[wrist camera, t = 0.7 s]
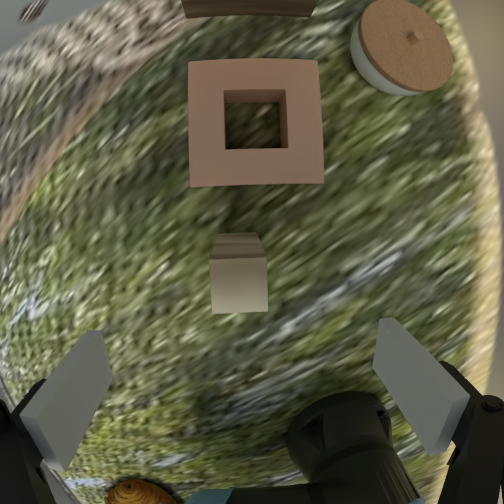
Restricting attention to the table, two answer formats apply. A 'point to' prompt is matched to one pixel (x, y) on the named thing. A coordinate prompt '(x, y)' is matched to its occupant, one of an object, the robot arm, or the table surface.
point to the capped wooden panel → (248, 7)
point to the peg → (238, 274)
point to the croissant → (138, 493)
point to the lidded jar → (400, 48)
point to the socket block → (246, 91)
